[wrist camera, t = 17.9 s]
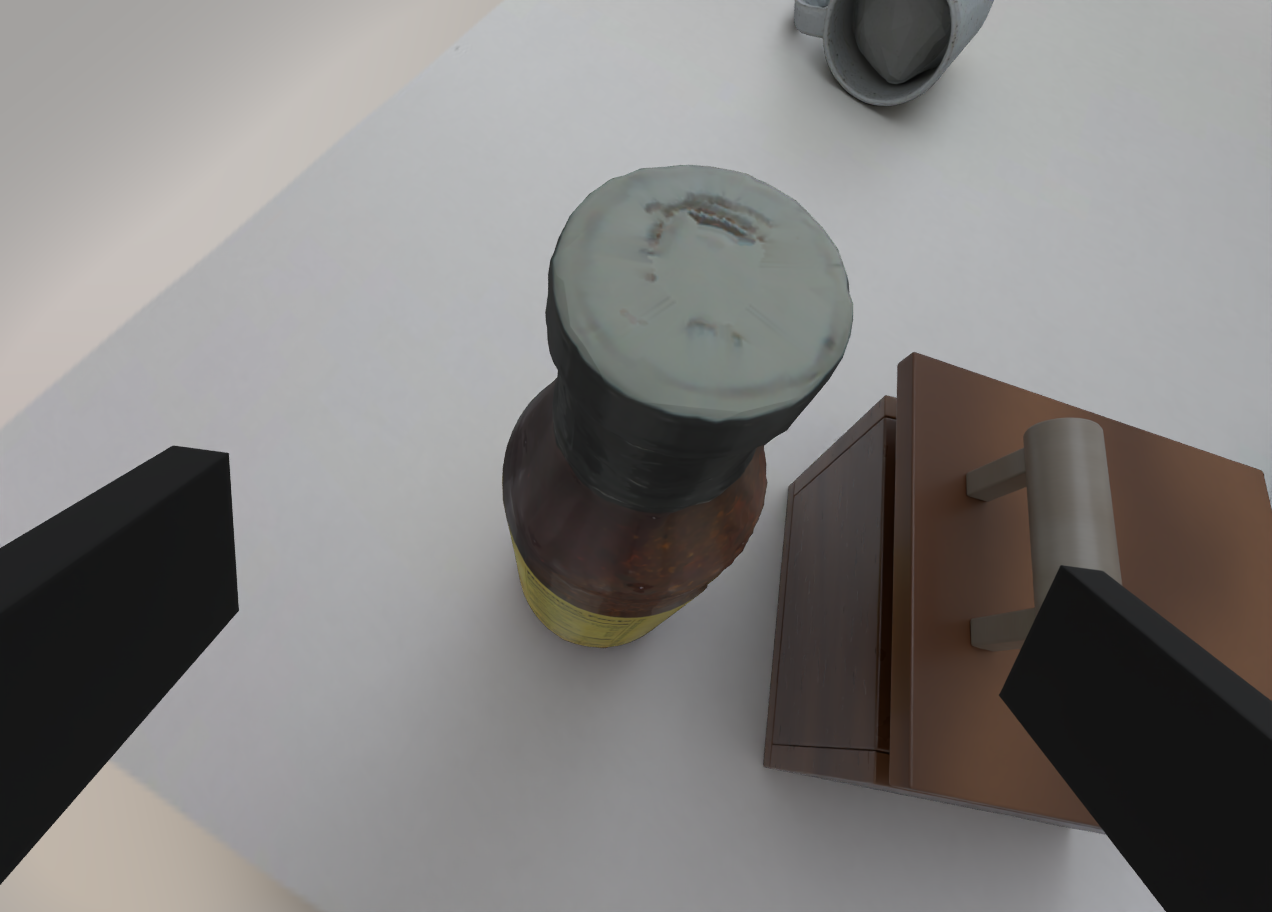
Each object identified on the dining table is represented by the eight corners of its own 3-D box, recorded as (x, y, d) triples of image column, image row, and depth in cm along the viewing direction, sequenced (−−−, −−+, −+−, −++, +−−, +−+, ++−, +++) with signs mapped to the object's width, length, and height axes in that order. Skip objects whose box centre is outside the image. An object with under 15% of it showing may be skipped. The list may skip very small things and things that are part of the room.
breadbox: (762, 766, 25) (874, 784, 17) (788, 485, 30) (884, 394, 21) (1072, 828, 26) (1319, 873, 18) (1049, 545, 30) (1236, 478, 22)
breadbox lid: (887, 785, 15) (1045, 811, 11) (896, 363, 20) (1010, 276, 16) (1320, 873, 18) (1576, 919, 14) (1237, 478, 22) (1409, 427, 18)
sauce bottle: (603, 473, 28) (731, 19, 10) (703, 581, 27) (1049, 285, 9) (480, 571, 26) (366, 209, 8) (584, 695, 25) (730, 601, 7)
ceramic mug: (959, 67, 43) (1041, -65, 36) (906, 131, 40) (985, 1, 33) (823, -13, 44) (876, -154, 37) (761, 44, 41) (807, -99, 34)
